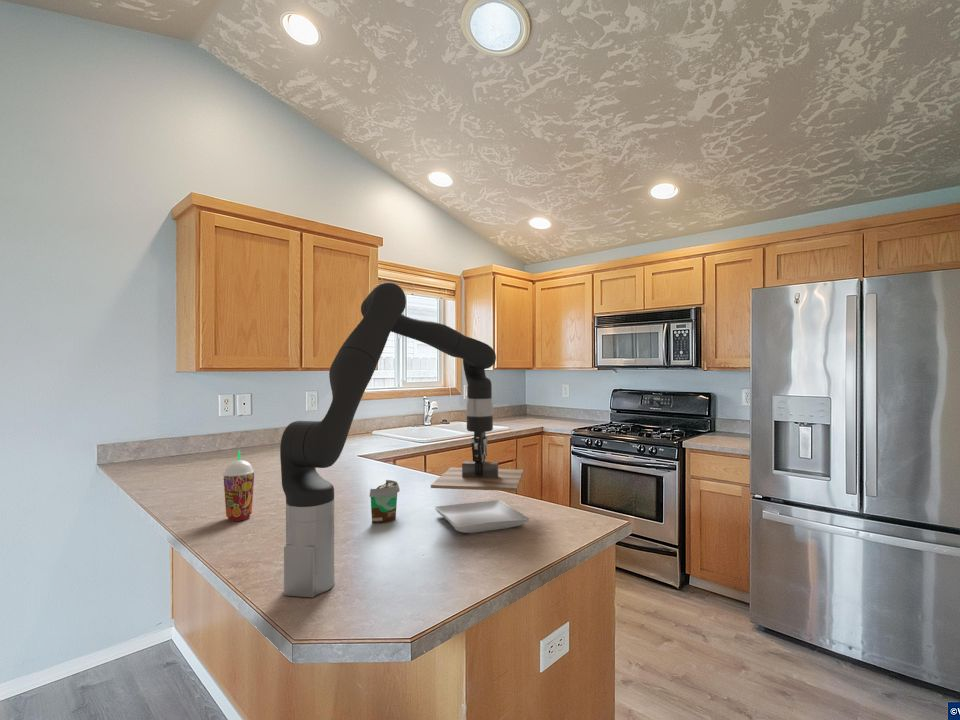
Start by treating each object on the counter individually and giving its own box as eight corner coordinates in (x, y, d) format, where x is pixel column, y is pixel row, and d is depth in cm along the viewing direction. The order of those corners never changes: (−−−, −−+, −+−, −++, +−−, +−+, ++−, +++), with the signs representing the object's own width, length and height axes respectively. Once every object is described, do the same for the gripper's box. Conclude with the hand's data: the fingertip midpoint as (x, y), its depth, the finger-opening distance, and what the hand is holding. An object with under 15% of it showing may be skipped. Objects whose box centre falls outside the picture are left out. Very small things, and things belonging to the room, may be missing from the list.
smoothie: (216, 520, 140) (216, 451, 140) (242, 512, 147) (242, 447, 148) (235, 524, 136) (235, 454, 136) (260, 516, 143) (260, 449, 144)
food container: (390, 526, 133) (390, 490, 134) (369, 525, 135) (369, 489, 135) (405, 513, 145) (405, 480, 146) (386, 512, 147) (386, 479, 147)
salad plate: (499, 509, 150) (498, 498, 150) (530, 529, 131) (530, 517, 131) (433, 517, 143) (433, 505, 143) (456, 540, 123) (456, 527, 123)
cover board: (516, 491, 124) (516, 472, 124) (430, 488, 128) (430, 470, 128) (523, 472, 147) (523, 456, 147) (450, 469, 151) (450, 454, 151)
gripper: (488, 416, 130) (489, 480, 130) (495, 411, 144) (496, 469, 144) (461, 416, 132) (462, 479, 131) (471, 411, 146) (471, 468, 145)
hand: (480, 474), depth 138 cm, fingers closed on cover board, 3 cm apart
